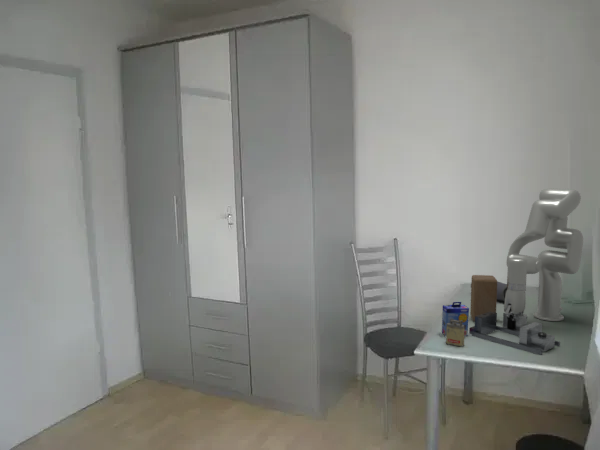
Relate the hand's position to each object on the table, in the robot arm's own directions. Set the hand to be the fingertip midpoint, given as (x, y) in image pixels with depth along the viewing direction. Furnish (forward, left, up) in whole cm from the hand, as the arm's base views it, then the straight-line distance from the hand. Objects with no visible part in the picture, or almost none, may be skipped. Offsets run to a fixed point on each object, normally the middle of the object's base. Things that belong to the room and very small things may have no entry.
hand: (514, 327), depth 218 cm
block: (-3, -17, -1) cm, 17 cm away
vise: (+13, +6, -1) cm, 14 cm away
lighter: (+35, -6, -1) cm, 35 cm away
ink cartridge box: (+25, -13, -1) cm, 28 cm away
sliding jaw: (+13, +17, -1) cm, 21 cm away
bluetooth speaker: (-41, -35, -1) cm, 54 cm away
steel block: (0, 0, -1) cm, 1 cm away
